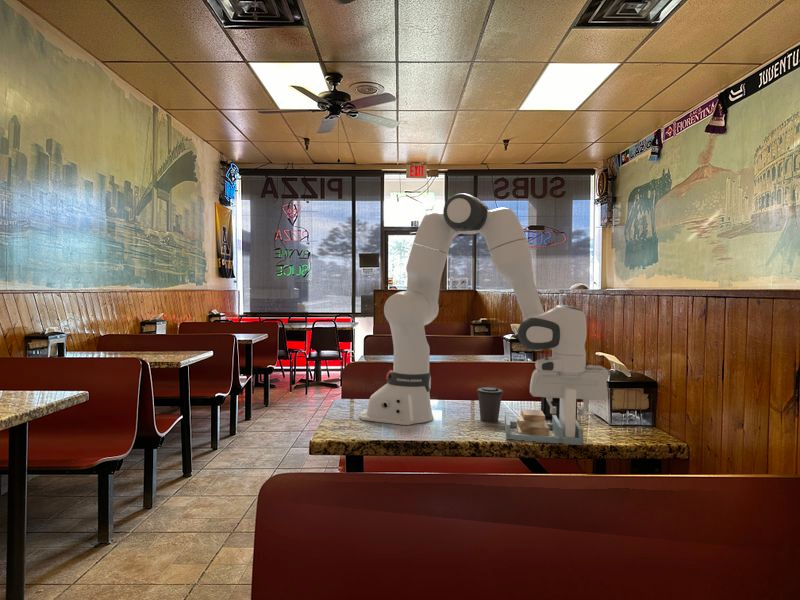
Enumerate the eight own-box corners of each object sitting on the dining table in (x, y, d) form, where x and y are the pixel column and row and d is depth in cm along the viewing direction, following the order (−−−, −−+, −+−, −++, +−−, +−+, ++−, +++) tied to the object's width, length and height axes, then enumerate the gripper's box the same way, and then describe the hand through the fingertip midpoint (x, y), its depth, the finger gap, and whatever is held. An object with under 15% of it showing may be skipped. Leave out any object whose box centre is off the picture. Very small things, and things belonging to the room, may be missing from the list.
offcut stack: (518, 437, 138) (518, 415, 138) (516, 428, 148) (516, 407, 148) (549, 440, 136) (550, 417, 136) (545, 430, 146) (546, 409, 146)
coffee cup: (502, 424, 152) (503, 390, 152) (475, 422, 154) (476, 389, 154) (502, 418, 160) (503, 386, 160) (476, 416, 162) (477, 384, 162)
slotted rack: (506, 439, 136) (506, 424, 136) (504, 425, 151) (505, 412, 151) (582, 445, 132) (583, 429, 132) (573, 430, 147) (574, 416, 147)
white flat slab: (565, 442, 135) (566, 389, 135) (559, 430, 147) (560, 382, 146) (574, 443, 134) (576, 390, 134) (568, 431, 146) (569, 382, 146)
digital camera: (544, 420, 158) (544, 398, 158) (540, 416, 164) (540, 394, 164) (578, 422, 158) (578, 399, 157) (573, 417, 163) (573, 395, 163)
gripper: (605, 364, 141) (604, 414, 142) (530, 361, 145) (528, 409, 145) (611, 367, 135) (609, 419, 135) (531, 363, 139) (530, 414, 139)
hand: (567, 414), depth 140 cm, fingers open, 6 cm apart
